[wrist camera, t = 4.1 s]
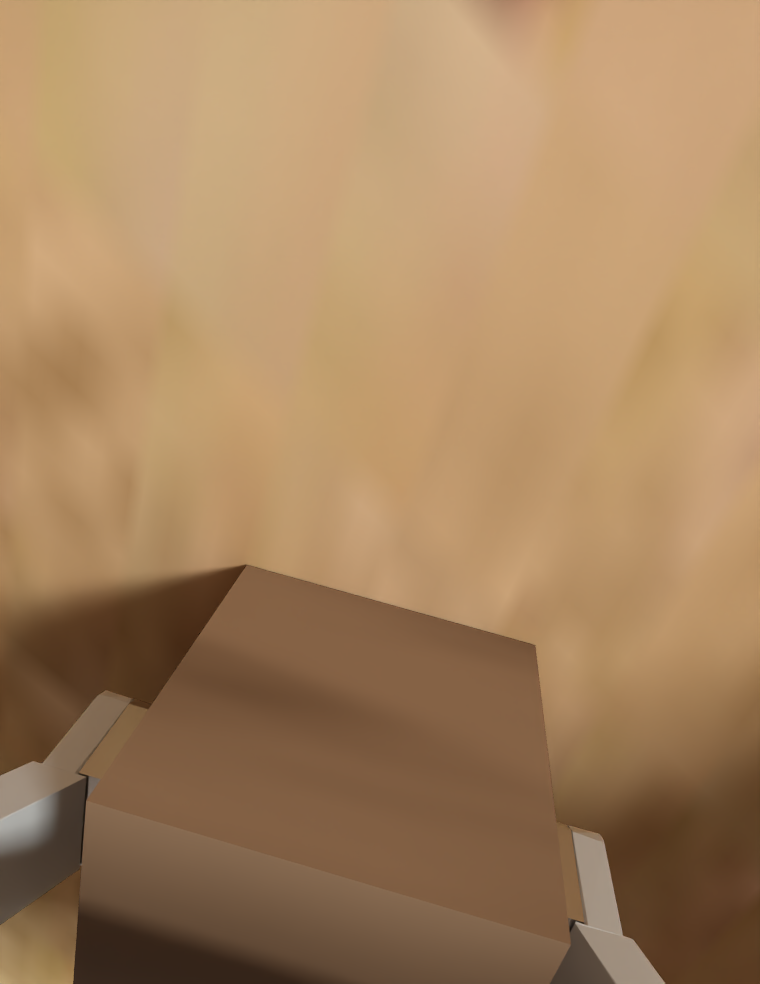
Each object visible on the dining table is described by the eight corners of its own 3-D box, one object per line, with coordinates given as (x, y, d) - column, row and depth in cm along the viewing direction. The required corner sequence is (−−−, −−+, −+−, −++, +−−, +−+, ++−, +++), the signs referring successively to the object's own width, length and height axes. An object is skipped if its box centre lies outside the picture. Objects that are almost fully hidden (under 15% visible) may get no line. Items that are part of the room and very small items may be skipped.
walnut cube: (454, 849, 13) (438, 1188, 9) (210, 778, 13) (67, 1070, 9) (535, 645, 11) (570, 943, 7) (246, 564, 11) (86, 800, 7)
